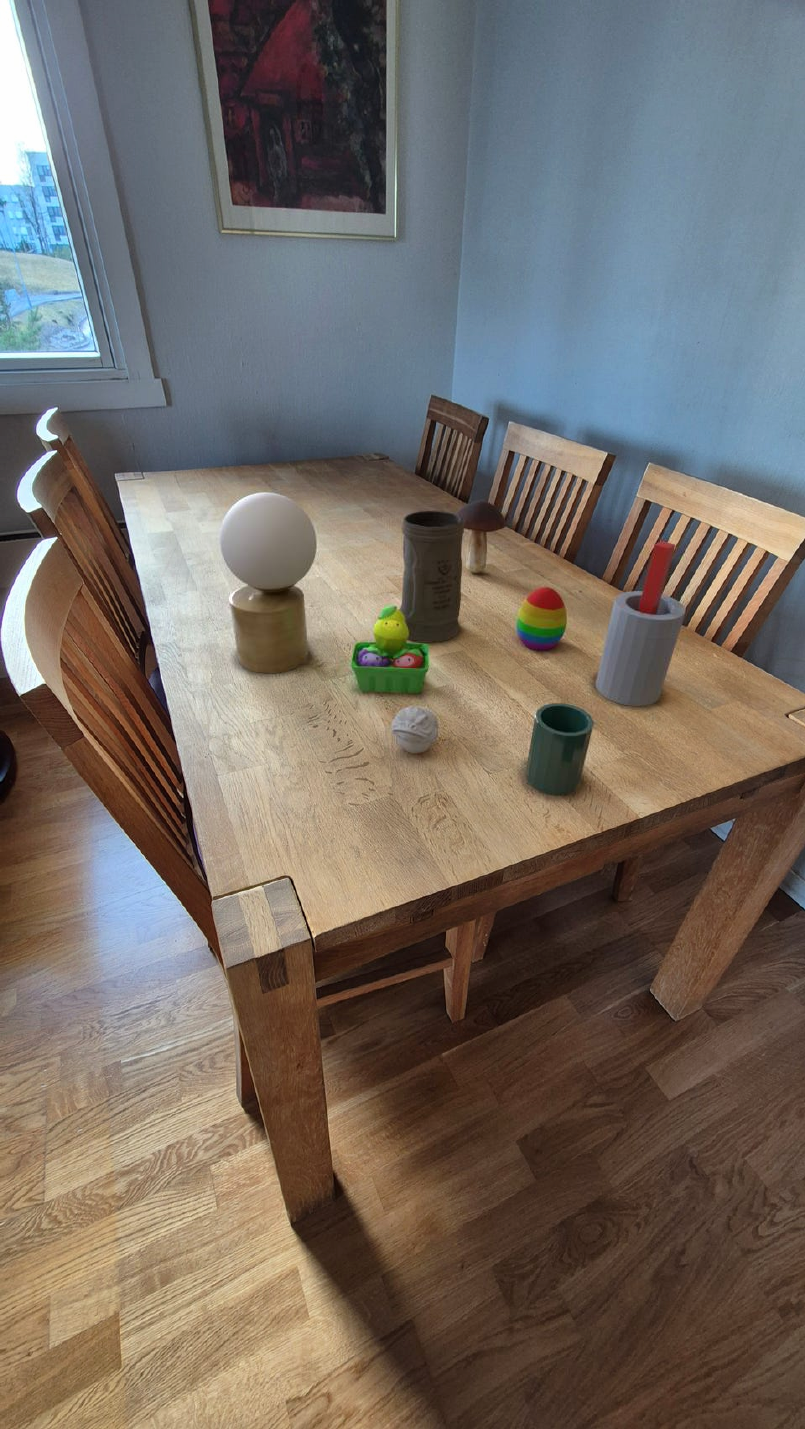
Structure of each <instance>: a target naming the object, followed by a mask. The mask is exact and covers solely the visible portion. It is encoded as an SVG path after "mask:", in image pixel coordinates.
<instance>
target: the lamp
mask: <svg viewBox="0 0 805 1429" xmlns="http://www.w3.org/2000/svg"><path fill="white" fill-rule="evenodd" d="M317 544H318V543H317V534H316V530H315V528H314V524H313V522H312V521H311V518H310V517H309V515H308V514H307V512H306V511H305V510H304V509H303V507H301V506H300V505H299V504H298V503H297V502H295V501H294V500H293V499H291V498H289V497H286V496H285V495H282V494H279V493H275V492H257V493H253V494H249V495H247V496H245V497H243V498H241V499H240V500H237V502H236V503H234V504H233V505H232V506H231V507H230V509H228V511H227V513H226V515H225V516H224V518H223V520H222V523H221V527H220V531H219V547H220V552H221V555H222V558H223V560H224V562H225V565H226V566H227V567H228V569H229V570H230V572H231V573H232V574H233V575H234V576H235V577H236V578H237V580H239V581H240V582H242V583H243V584H245V586H242V587H240V588H238V589H236V590H235V591H233V592H232V594H230V596H229V606H230V613H231V619H232V620H231V621H232V627H233V634H234V640H235V647H236V652H237V653H236V654H237V660H238V662H239V664H240V665H241V666H242V667H243V668H245V669H246V670H249V671H251V672H255V673H261V674H277V673H284V672H288V671H292V670H293V669H296V668H298V667H300V666H301V665H303V664H304V663H305V662H306V660H307V659H308V657H309V644H308V643H309V642H308V632H307V617H306V606H305V594H304V592H303V591H302V589H301V588H300V587H298V586H296V585H297V584H298V583H299V582H300V581H301V580H303V579H304V577H305V576H307V574H308V573H309V572H310V570H311V568H312V566H313V564H314V562H315V558H316V554H317Z"/></svg>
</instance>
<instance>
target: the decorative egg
mask: <svg viewBox="0 0 805 1429" xmlns="http://www.w3.org/2000/svg"><path fill="white" fill-rule="evenodd" d="M567 624H568V614H567V609H566V605H565V603H564V600H563V598H562V597H561V595H560V594H559V593H558V592H557V591H556V590H555V589H554V588H553V587H550V586H542V587H539V588H536V589H535V590H533V591H532V592H531V593H530V594H529V595H528V596H527V597H525V599H524V601H523V602H522V604H521V606H520V608H519V610H518V612H517V616H516V631H517V635H518V637H519V640H520V641H521V643H522V644H523V645H524V646H526V648H527V647H528V648H529V649H531V650H537V651H539V650H540V651H545V650H546V651H547V650H550V649H552V648H554V647H555V646H556V645H558V644H559V642H560V641H561V640H562V638H563V636H564V634H565V631H566V628H567Z"/></svg>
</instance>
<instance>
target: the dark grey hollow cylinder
mask: <svg viewBox="0 0 805 1429" xmlns="http://www.w3.org/2000/svg"><path fill="white" fill-rule="evenodd" d="M464 532H465V528H464V527H463V520H462V518H461V517H460V516H458V515H456V513H453V512H448V511H442V510H420V511H414V512H411V513H408V514H407V513H406V515H405V516H404V517H403V519H402V526H401V533H402V534H403V539H402V557H403V566H404V567H403V568H404V570H403V573H402V577H403V578H402V593H401V596H402V597H401V604H400V607H399V610H400V611H401V612H402V613H403V614H404V616H405V623H406V625H407V627H408V631H409V636H408V639H410V640H413V641H416V642H420V643H421V642H422V643H439V642H440V643H441V642H443V641H447V640H450V639H452V638H453V637H455V636H456V635H457V634H458V633H459V630H460V625H459V624H460V623H459V617H460V609H461V601H462V592H461V591H462V577H463V576H462V575H463V559H462V558H463V557H462V549H463V548H462V547H463V546H462V545H463V537H464Z"/></svg>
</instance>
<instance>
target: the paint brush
mask: <svg viewBox="0 0 805 1429" xmlns="http://www.w3.org/2000/svg"><path fill="white" fill-rule="evenodd" d="M675 548H676V544H674V543H670V542H666V541H663V540H660V541H659V542H657V543H655V544H654V546H653V551H652V554H651V557H650V561H649V566H648V570H647V573H646V577H645V582H644V584H643V590H642V591H643V593H642V597H641V601H640V604H639V608H638V612H641V613H645V614H650V615H656V614H657V610H658V607H659V603H660V599H661V596H662V595H663V592H664V588H665V584H666V581H667V577H668V574H669V570H670V567H671V563H672V559H673V556H674V551H675Z"/></svg>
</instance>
